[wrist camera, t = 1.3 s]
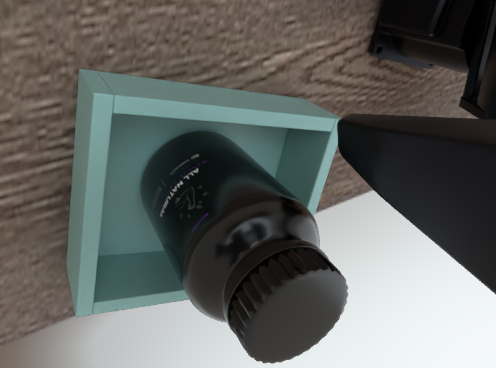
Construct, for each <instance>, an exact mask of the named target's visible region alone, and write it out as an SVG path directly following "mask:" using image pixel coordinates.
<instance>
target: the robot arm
mask: <svg viewBox="0 0 496 368" xmlns="http://www.w3.org/2000/svg"><path fill="white" fill-rule="evenodd" d="M377 47H378V50H377V51H376V49H377ZM369 53H370V55H372V56H375V57H378V58H383V59H387V60H392V61H396V62H401V63H405V64H410V65H414V66H418V67H423V68H427V69H432V68H434V66H435V65H437V66H440V67H444V68H448V69H452V70H455V71H459V72H463V73H467V74H468V76H467V80H466V84H465V89H464V93H463V96H462V97H461V100H460V104H459V106H460V107H462V108H463V109H465V110H466V111H468V112H470V113H471V114H473V115H474V116H476V117H477V118H479V119H469V118H444V117H420V116H395V115H370V114H350V115H348V116H346V117H344V118H341V119H340V120H339V121H338V122H337V134H338V146H339V151H340V153H341V155H342V157H343V158H344V159H345V160H346V161H347V162H348V163H349V164H350V165H351V166H352V167H353V168H354V170H355V171H356V172H357V173H358V174H359V175H360V176H361V177H362V178H363V179H364V180H365V181H366V182H367V183H368V184H369V185H370V186H371V188H372V189H373V190H374V191H375V192H377V193H378V194H379V195H380V196H381V197H382V198H383V199H384V200H385V201H386V202H388V203H389V204H390V205H391V206H392V207H393V208H395V209H396V210H397V211H398V212H399V213H400V214H402V215H403V216H404V217H405V218H406V219H408V220H409V221H410V222H411V223H412V224H413V225H415V226H416V227H417V228H418V229H419V230H421V231H422V232H423V233H424V234H425V235H426V236H428V237H429V238H430V239H431V240H432V241H434V242H435V243H436V244H437V245H438V246H439V247H441V248H442V249H443V250H444V251H445V252H447V253H448V254H449V255H450V256H451V257H452V258H454V259H455V260H456V261H457V262H458V263H459V264H461V265H462V266H463V267H464V268H465V269H467V270H468V271H469V272H470V273H471V274H472V275H474V276H475V277H476V278H477V279H478V280H479V281H481V282H482V283H483V284H484V285H485V286H487V287H488V288H489V289H490V290H491V291H492V292H494V293H495V294H496V0H385V2H384V5H383V8H382V11H381V14H380V17H379V20H378V23H377V26H376V30H375V33H374V36H373V39H372V42H371V45H370V48H369Z"/></svg>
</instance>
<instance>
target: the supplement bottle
mask: <svg viewBox="0 0 496 368" xmlns="http://www.w3.org/2000/svg"><path fill="white" fill-rule="evenodd" d="M140 192H141V200H142V203H143V206H144V209H145V211H146V213H147V216H148V218H149V220H150V222H151V224H152V226H153V228H154V230H155V232H156V234H157V236H158V238H159V240H160V242H161V244H162V246H163V248H164V250H165V252H166V254H167V256H168V258H169V260H170V262H171V264H172V266H173V268H174V270H175V272H176V274H177V276H178V279H179V281H180V283H181V285H182V287H183V289H184V291H185V293H186V294H187V296H188V298H189V299H190V301H191V302H192V304H193V305H194V306H195V307H196V308H197V309H198V310H199V311H200V312H202V313H203V314H205V315H206V316H208V317H210V318H213V319H215V320H218V321H221V322H227V323H228V325H229V326H230V328H231V330H232V331H233V332H234V333H235V334H236V336H237V337H238V339H239V341H240V343H241V344H242V346H243V348H244V349H245V350H246V351H247V353H248V355H249V356H250V357H252V358H254V359H255V360H256V361H262V362H263V363H268V362H269V363H275V362H282V361H285V360H290V359H292V358H294V357H295V356H299V355H300V354H302V353H303V352H305V351H307V350H309V349H310V348H311V347H312V346H314V345H315V344H317V343H318V342H319V341H320V340H321V339H322V338H323V337H325V336H326V335H327V333H328V332H329V331H330V330H331V329H332V328H333V327H334V325H335V323H336V322H337V321H338V320H339V318H340V315H341V314H342V312H343V311H344V307H345V305H346V303H347V300H346V299H347V296H348V292H347V289H348V286H347V284H346V280H345V278H344V277H343V275H342V274H341V273H340V271H339V270H338V269H337V268H336V267H335V266H334V265H333V264H332V263H331V262H330V261H329V259H328V257H327V256H326V255H325V254H324V252H322V251H321V250H320V249H319V247H320V240H319V232H318V227H317V224H316V221H315V219H314V217H313V215H312V214H311V212H310V211H309V210H308V208H307V207H306V206H305V205H304V204H303V203H302V202H301V201H300V200H299V199H297V198H296V197H295V196H294V195H293V194H292V193H291V192H290V191H289V190H287V189H286V188H285V187H284V186H283V185H282V184H281V183H280V182H279V181H277V180H276V179H275V178H274V177H273V176H272V175H271V174H270V173H268V172H267V171H266V170H265V169H264V168H263V167H262V166H261V165H260V164H258V163H257V162H256V161H255V160H254V159H253V158H252V157H251V156H250V155H248V154H247V153H246V152H245V151H244V150H243V149H242V148H241V147H239V146H238V145H237V144H236V143H235V142H233V141H232V140H231V139H229V138H227V137H226V136H224V135H221V134H219V133H215V132H210V131H194V132H189V133H185V134H182V135H180V136H177V137H175V138H173V139H172V140H170V141H168V142H167V143H165V144H164V145H163V146H162V147H161V148H160V149H158V150H157V151H156V153H155V154H154V155H153V156H152V158H151V159H150V160H149V162H148V164H147V166H146V168H145V170H144V173H143V176H142V180H141V189H140Z"/></svg>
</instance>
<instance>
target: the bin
mask: <svg viewBox="0 0 496 368" xmlns="http://www.w3.org/2000/svg"><path fill="white" fill-rule="evenodd" d="M340 119H341V117H339V116H337V115H335V114H333V113H331V112H329V111H327V110H325V109H323V108H321V107H319V106H317V105H315V104H313V103H311V102H309V101H307V100H306V99H303V98H296V97H288V96H281V95H273V94H266V93H258V92H251V91H243V90H236V89H228V88H221V87H213V86H206V85H198V84H191V83H183V82H176V81H168V80H161V79H153V78H146V77H138V76H131V75H123V74H116V73H108V72H101V71H93V70H86V69H79V79H78V94H77V109H76V125H75V140H74V156H73V171H72V187H71V202H70V218H69V233H68V249H67V264H66V268H67V273H68V278H69V284H70V289H71V294H72V300H73V305H74V311H75V316H76V317H80V316H87V315H92V314H98V313H105V312H111V311H118V310H124V309H131V308H137V307H144V306H150V305H157V304H163V303H169V302H176V301H182V300H189V298H188V296H187V294H186V293H185V291H184V289H183V287H182V285H181V283H180V281H179V279H178V276H177V274H176V272H175V270H174V268H173V266H172V264H171V262H170V260H169V258H168V256H167V254H166V252H165V250H164V248H163V246H162V244H161V242H160V240H159V238H158V236H157V234H156V232H155V230H154V228H153V226H152V224H151V222H150V220H149V218H148V216H147V213H146V211H145V209H144V206H143V203H142V200H141V192H140V189H141V180H142V176H143V173H144V170H145V168H146V166H147V164H148V162H149V160H150V159H151V158H152V156H153V155H154V154H155V153H156V151H157V150H158V149H160V148H161V147H162V146H163V145H164V144H165V143H167V142H168V141H170V140H172V139H173V138H175V137H177V136H180V135H182V134H185V133H189V132H194V131H210V132H215V133H219V134H221V135H224V136H226V137H227V138H229V139H231V140H232V141H233V142H235V143H236V144H237V145H238V146H239V147H241V148H242V149H243V150H244V151H245V152H246V153H247V154H248V155H250V156H251V157H252V158H253V159H254V160H255V161H256V162H257V163H258V164H260V165H261V166H262V167H263V168H264V169H265V170H266V171H267V172H268V173H270V174H271V175H272V176H273V177H274V178H275V179H276V180H277V181H279V182H280V183H281V184H282V185H283V186H284V187H285V188H286V189H287V190H289V191H290V192H291V193H292V194H293V195H294V196H295V197H296V198H297V199H299V200H300V201H301V202H302V203H303V204H304V205H305V206H306V207H307V208H308V210H309V211H310V212H311V214H312V215H313V217H314V214H315V211H316V208H317V205H318V202H319V199H320V196H321V193H322V190H323V187H324V184H325V181H326V178H327V175H328V172H329V169H330V166H331V163H332V160H333V157H334V154H335V151H336V148H337V145H338V134H337V122H338V121H339V120H340Z"/></svg>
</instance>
